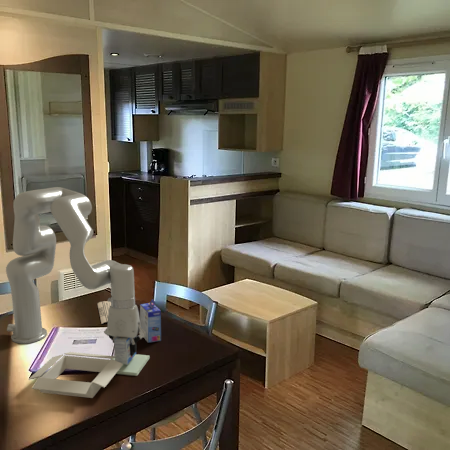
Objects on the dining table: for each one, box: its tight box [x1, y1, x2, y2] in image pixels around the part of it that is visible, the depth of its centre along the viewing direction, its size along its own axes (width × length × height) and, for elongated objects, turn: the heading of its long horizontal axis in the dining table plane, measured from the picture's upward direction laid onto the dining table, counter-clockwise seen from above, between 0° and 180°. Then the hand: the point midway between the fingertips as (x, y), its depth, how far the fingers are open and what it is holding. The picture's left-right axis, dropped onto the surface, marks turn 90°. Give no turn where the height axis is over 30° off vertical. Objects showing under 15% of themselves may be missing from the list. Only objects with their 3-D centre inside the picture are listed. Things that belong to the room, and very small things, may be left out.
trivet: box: [110, 353, 151, 377], centre depth 160 cm, size 12×12×1 cm
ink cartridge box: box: [139, 299, 162, 344], centre depth 180 cm, size 10×6×14 cm, turn 27°
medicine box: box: [113, 337, 137, 365], centre depth 159 cm, size 8×4×9 cm, turn 168°
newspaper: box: [97, 300, 111, 325], centre depth 204 cm, size 24×7×2 cm, turn 19°
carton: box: [28, 351, 123, 399], centre depth 149 cm, size 25×23×5 cm
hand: (125, 352), depth 160 cm, fingers closed on medicine box, 4 cm apart
